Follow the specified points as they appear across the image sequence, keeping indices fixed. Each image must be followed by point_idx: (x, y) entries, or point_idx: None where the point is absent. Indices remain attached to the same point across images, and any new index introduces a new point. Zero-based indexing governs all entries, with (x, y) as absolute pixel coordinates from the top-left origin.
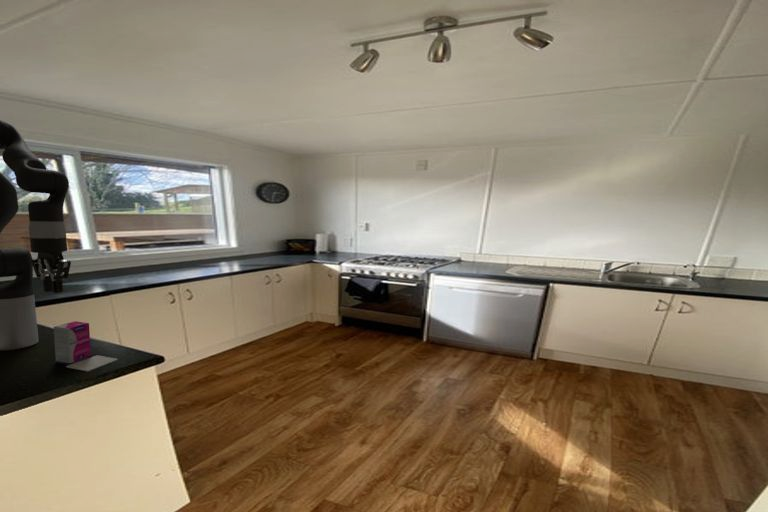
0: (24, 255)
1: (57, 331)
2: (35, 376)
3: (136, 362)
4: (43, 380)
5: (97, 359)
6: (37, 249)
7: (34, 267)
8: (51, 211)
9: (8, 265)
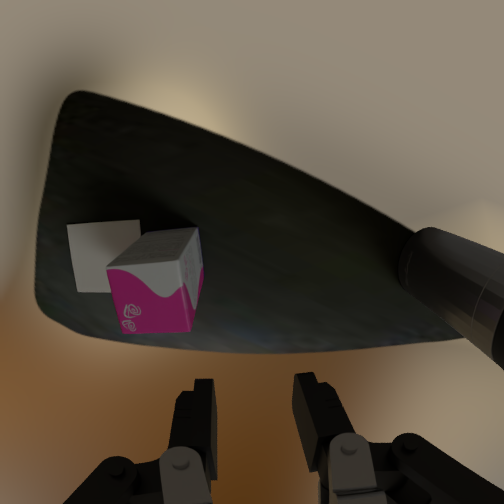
0: None
1: (159, 254)
2: (148, 160)
3: (37, 293)
4: (106, 157)
5: None
6: None
7: (473, 487)
8: None
9: None
